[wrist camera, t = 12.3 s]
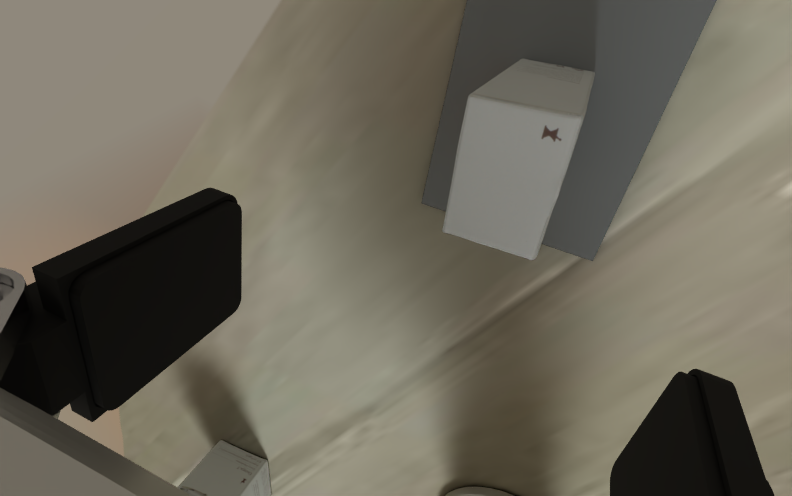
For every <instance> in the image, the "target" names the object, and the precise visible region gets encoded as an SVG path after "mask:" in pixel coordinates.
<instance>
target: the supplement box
mask: <svg viewBox="0 0 792 496" xmlns="http://www.w3.org/2000/svg"><path fill="white" fill-rule="evenodd" d="M177 488H179V489H181V490H183V491H184V492H186V493H188V494H189V495H191V496H271V486H270V476H269V467H268V461H267V460H266V459H262V458H260V457H257V456H255V455H253V454H250V453H248V452H246V451H244V450H241V449H239V448H237V447H235V446H233V445H230V444H228V443H227V442H225V441H223V440H220V441H219V442H218V443H217V444H216V445H215V446H214V447H213V448H212V449H211V451H210V452H209V453H208V454H207V455H206V456H205V457H204V458H203V459H202V461H201V462H200V463H199V464H198V465H197V466H196V467H195V468H194V469H193V471H192V472H191V473H190V474H189V475H188V476H187V477H186V478H185V480H184V481H183V482H182V483H181V484H180V485H179V486H178V487H177Z"/></svg>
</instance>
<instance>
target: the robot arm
mask: <svg viewBox="0 0 792 496" xmlns="http://www.w3.org/2000/svg"><path fill="white" fill-rule="evenodd" d="M241 242H242V211H241V207H240V206H239V205H238V204H237V200H236V198H235V197H234V196H233V195H230V194H227V193H224V192H222V191H219V190H216V189H214V188H207V189H204V190H202V191H200V192H197V193H195V194H193V195H191V196H188V197H186V198H184V199H182V200H180V201H177V202H175V203H173V204H171V205H169V206H166V207H164V208H162V209H160V210H158V211H155V212H153V213H151V214H149V215H146V216H144V217H142V218H140V219H138V220H136V221H133V222H131V223H129V224H127V225H124V226H122V227H120V228H118V229H115V230H113V231H111V232H109V233H107V234H105V235H102V236H100V237H98V238H96V239H93V240H91V241H89V242H87V243H85V244H82V245H80V246H78V247H76V248H74V249H72V250H69V251H67V252H65V253H62V254H60V255H58V256H56V257H54V258H51V259H49V260H47V261H45V262H43V263H40V264H38V265H36V266H34V267H32V269H33V273H34V276H35V280H36V282H34V283H32V284H30V285H28V286H27V285H26V282H25V280H24V278H23V276H22V275H21V274H19V273H17V272H16V271H13V270H9V269H5V268H0V496H191V495H189V494H188V493H186V492H184V491H183V490H181V489H179V488H177V487H176V486H174V485H172V484H170V483H169V482H167V481H165V480H163V479H162V478H160V477H158V476H156V475H155V474H153V473H151V472H149V471H148V470H146V469H144V468H142V467H141V466H139V465H137V464H135V463H134V462H132V461H130V460H128V459H127V458H125V457H123V456H121V455H120V454H118V453H116V452H114V451H112V450H111V449H109V448H107V447H105V446H104V445H102V444H100V443H98V442H97V441H95V440H93V439H91V438H90V437H88V436H86V435H84V434H83V433H81V432H79V431H77V430H76V429H74V428H72V427H70V426H68V425H67V424H65V423H63V422H61V421H60V420H58V417H59V414H60V410H61V409H63V408H64V407H65V406H67V405H68V404H69V403H70V405H71V408H72V411H74V412H75V413H77V414H79V415H81V416H83V417H84V418H86V419H88V420H90V421H91V422H93V421H95V420H96V419H97V418H98V417H100V416H101V415H102V414H103V413H105V412H106V411H107V410H114V409H116V408H118V407H119V406H121V405H122V404H123V403H124V402H126V401H127V400H128V399H129V398H130V397H132V396H133V395H134V394H135V393H137V392H138V391H139V390H140V389H141V388H143V387H144V386H145V385H146V384H148V383H149V382H150V381H151V380H152V379H154V378H155V377H156V376H157V375H159V374H160V373H161V372H162V371H163V370H165V369H166V368H167V367H168V366H170V365H171V364H172V363H173V362H174V361H176V360H177V359H178V358H179V357H181V356H182V355H183V354H184V353H185V352H187V351H188V350H189V349H190V348H192V347H193V346H194V345H195V344H196V343H198V342H199V341H200V340H201V339H203V338H204V337H205V336H206V335H207V334H209V333H210V332H211V331H212V330H214V329H215V328H216V327H217V326H218V325H220V324H221V323H222V322H223V321H225V320H226V319H227V318H228V317H229V316H231V315H232V314H233V313H234V312H235V311H236V310H237V308H238V307H239V305H240V302H241ZM445 496H514V495H511V494H509V493H506V492H503V491H500V490H496V489H492V488H486V487H464V488H459V489H455V490H453V491H451V492H449V493H448V494H446V495H445ZM610 496H774V493H773V491H772V489H771V487H770V485H769V483H768V481H767V480H766V478H765V475H764V472H763V469H762V466H761V463H760V460H759V457H758V454H757V451H756V448H755V445H754V442H753V439H752V436H751V433H750V430H749V427H748V424H747V421H746V418H745V415H744V412H743V409H742V406H741V403H740V400H739V397H738V394H737V391H736V388H735V386H734V384H733V383H732V382H730V381H728V380H725V379H723V378H720V377H717V376H715V375H712V374H709V373H707V372H704V371H701V370H698V369H693V370H691V371H690V372H689V373H688V374H686V373H683V372H678V373H677V374H676V375H675V376H674V377H673V379H672V380H671V381H670V383H669V384H668V386H667V387H666V389H665V390H664V392H663V393H662V394H661V396H660V397H659V399H658V400H657V402H656V403H655V405H654V406H653V408H652V409H651V410H650V412H649V413H648V415H647V416H646V418H645V419H644V421H643V422H642V424H641V425H640V426H639V428H638V429H637V431H636V432H635V434H634V435H633V437H632V438H631V440H630V441H629V442H628V444H627V445H626V447H625V448H624V450H623V451H622V453H621V454H620V455H619V457H618V458H617V460H616V462H615V463H614V466H613V468H612V472H611V477H610Z"/></svg>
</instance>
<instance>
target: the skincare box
mask: <svg viewBox="0 0 792 496" xmlns="http://www.w3.org/2000/svg"><path fill="white" fill-rule="evenodd" d="M594 76H595V72H592V71H586V70H581V69H576V68H571V67H567V66H561V65H555V64H549V63H544V62H538V61H533V60H528V59H520V60H519V61H518V62H516V63H515V64H513V65H512V66H510V67H509V68H508V69H506V70H505V71H503V72H501V73H500V74H499V75H497V76H496V77H494V78H493V79H491V80H490V81H488V82H487V83H486V84H484V85H483V86H481V87H480V88H478V89H477V90H475V91H474V92H473V93H471V94H470V95H469V96H468V100H467V105H466V109H465V114H464V119H463V123H462V128H461V133H460V138H459V143H458V148H457V154H456V159H455V165H454V171H453V177H452V183H451V188H450V193H449V198H448V203H447V209H446V214H445V219H444V224H443V229H442V231H443V232H444V233H447V234H451V235H455V236H458V237H461V238H464V239H467V240H470V241H473V242H476V243H479V244H482V245H486V246H489V247H492V248H495V249H498V250H501V251H504V252H507V253H511V254H514V255H517V256H520V257H523V258H526V259H529V260H534V259H535V258H536V257H537V255H538V252H539V249H540V246H541V243H542V240H543V237H544V234H545V231H546V228H547V225H548V222H549V219H550V216H551V213H552V211H553V208H554V206H555V203H556V201H557V198H558V196H559V192H560V189H561V185H562V183H563V180H564V177H565V174H566V171H567V168H568V165H569V162H570V159H571V156H572V153H573V150H574V147H575V144H576V141H577V138H578V135H579V132H580V129H581V126H582V123H583V120H584V117H585V113H586V110H587V104H588V100H589V96H590V92H591V88H592V85H593V81H594Z"/></svg>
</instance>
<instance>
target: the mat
mask: <svg viewBox="0 0 792 496" xmlns="http://www.w3.org/2000/svg"><path fill="white" fill-rule="evenodd" d="M716 1H717V0H467V3H466V8H465V12H464V16H463V21H462V25H461V30H460V34H459V39H458V43H457V47H456V52H455V56H454V61H453V65H452V70H451V74H450V79H449V83H448V87H447V92H446V96H445V101H444V105H443V110H442V114H441V118H440V123H439V127H438V132H437V136H436V141H435V145H434V150H433V154H432V158H431V163H430V167H429V172H428V176H427V181H426V185H425V189H424V194H423V198H422V204H425V205H428V206H431V207H434V208H437V209H440V210H443V211H446V209H447V203H448V198H449V193H450V188H451V183H452V177H453V171H454V165H455V159H456V154H457V148H458V143H459V138H460V133H461V128H462V123H463V119H464V114H465V109H466V105H467V100H468V96H469V95H470V94H471V93H473V92H474V91H475V90H477V89H478V88H480V87H481V86H483V85H484V84H486V83H487V82H488V81H490V80H491V79H493V78H494V77H496V76H497V75H499V74H500V73H501V72H503V71H505V70H506V69H508V68H509V67H510V66H512V65H513V64H515V63H516V62H518V61H519V60H520V59H528V60H533V61H538V62H544V63H549V64H555V65H561V66H567V67H571V68H576V69H581V70H586V71H592V72H595V76H594V81H593V85H592V88H591V92H590V96H589V100H588V104H587V110H586V113H585V117H584V120H583V123H582V126H581V129H580V132H579V135H578V138H577V141H576V144H575V147H574V150H573V153H572V156H571V159H570V162H569V165H568V168H567V171H566V174H565V177H564V180H563V183H562V185H561V189H560V192H559V196H558V198H557V201H556V203H555V206H554V208H553V211H552V213H551V216H550V219H549V222H548V225H547V228H546V231H545V234H544V237H543V240H542V243H541V244H544V245H546V246H549V247H552V248H555V249H558V250H561V251H564V252H567V253H570V254H573V255H576V256H579V257H582V258H585V259H588V260H591V261H593V259H594V257H595V255H596V253H597V251H598V249H599V247H600V245H601V243H602V241H603V238H604V236H605V234H606V232H607V230H608V228H609V226H610V224H611V222H612V219H613V217H614V215H615V213H616V211H617V209H618V207H619V205H620V203H621V201H622V198H623V196H624V194H625V192H626V190H627V188H628V186H629V184H630V182H631V179H632V177H633V175H634V173H635V171H636V169H637V167H638V165H639V163H640V161H641V158H642V156H643V154H644V152H645V150H646V148H647V146H648V144H649V142H650V139H651V137H652V135H653V133H654V131H655V129H656V127H657V125H658V123H659V121H660V118H661V116H662V114H663V112H664V110H665V108H666V106H667V104H668V102H669V99H670V97H671V95H672V93H673V91H674V89H675V87H676V85H677V83H678V81H679V78H680V76H681V74H682V72H683V70H684V68H685V66H686V64H687V62H688V59H689V57H690V55H691V53H692V51H693V49H694V47H695V45H696V43H697V41H698V38H699V36H700V34H701V32H702V30H703V28H704V26H705V24H706V22H707V19H708V17H709V15H710V13H711V11H712V9H713V7H714V5H715V3H716Z"/></svg>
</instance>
